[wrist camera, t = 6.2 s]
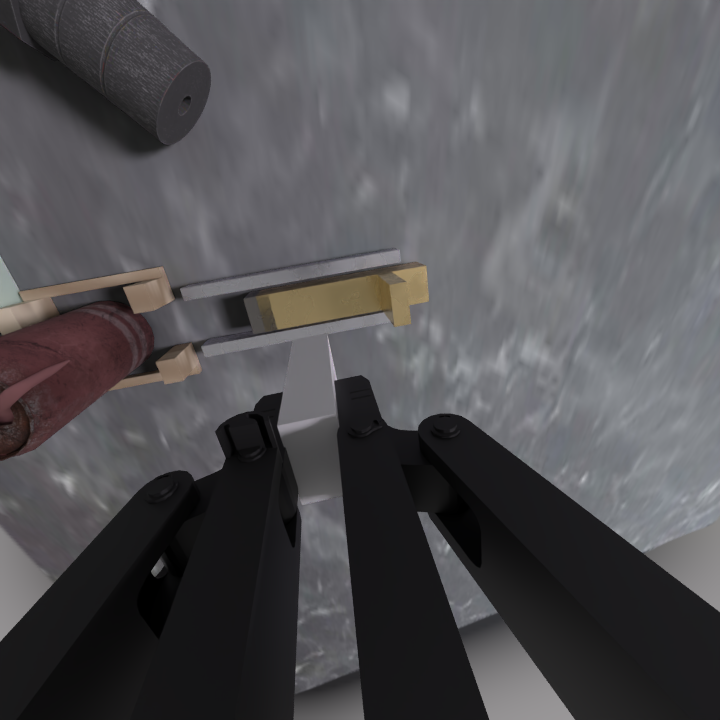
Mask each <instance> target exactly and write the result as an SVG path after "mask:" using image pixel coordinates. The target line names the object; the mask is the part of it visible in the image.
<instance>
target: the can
mask: <svg viewBox="0 0 720 720" xmlns="http://www.w3.org/2000/svg"><path fill="white" fill-rule="evenodd" d="M153 349H154V336H153V332H152V329H151V327H150V325H149V324H148V322H147V321H146V319H145V318H144V317H143V316H142V315H141V314H140V313H137V314H134V312H133V310H132V308H131V307H129V306H127V305H125V304H123V303H118V302H114V301H99V302H95V303H93V304H90V305H87V306H84V307H81V308H79V309H76V310H73V311H70V312H67V313H64V314H62V315H59V316H56V317H53V318H50V319H47V320H45V321H42V322H39V323H36V324H33V325H31V326H28V327H25V328H22V329H19V330H16V331H14V332H11V333H8V334H5V335H2V336H0V461H3V460H5V459H8V458H10V457H14V456H19V455H22V454H24V453H27V452H29V451H32V450H34V449H36V448H37V447H38V446H40V445H41V444H42V443H43V442H45V441H46V440H47V439H48V438H50V437H51V436H52V435H53V434H55V433H56V432H57V431H58V430H60V429H61V428H62V427H64V426H65V425H66V424H67V423H69V422H70V421H71V420H72V419H74V418H75V417H76V416H77V415H79V414H80V413H81V412H82V411H84V410H85V409H86V408H87V407H89V406H90V405H91V404H92V403H94V402H95V401H96V400H97V399H99V398H100V397H101V396H102V395H104V394H105V393H106V392H107V391H109V390H110V389H111V388H112V387H114V386H115V385H116V384H117V383H119V382H120V381H121V380H122V379H124V378H125V377H126V376H127V375H129V374H130V373H131V372H132V371H134V370H135V369H136V368H137V367H139V366H140V365H141V364H142V363H143V362H145V361H146V360H147V359H148V358H149V357H150V355H151V353H152V351H153Z"/></svg>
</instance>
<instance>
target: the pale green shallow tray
mask: <svg viewBox="0 0 720 720" xmlns="http://www.w3.org/2000/svg"><path fill="white" fill-rule="evenodd" d="M19 292H20V290H19V289H18V287H17V285H16V283H15V281H14V280H13V278H12V276H11V274H10V272H9V271H8V269H7V267H6V265H5V263H4V262H3V260H2V258H1V256H0V308H3V307H6V306H10V305H14V304H18V303H21V302H24V301H23V300H22V298H21V296H20V294H19Z"/></svg>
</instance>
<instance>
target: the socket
mask: <svg viewBox="0 0 720 720" xmlns="http://www.w3.org/2000/svg"><path fill="white" fill-rule="evenodd" d="M139 281H141V282H139ZM134 282H138V283H135V284H132V285H129V286H126V287H123V289H124V291H125V293H126V296H127V298H128V300H129V303H130V305H131V307H132V310H133V312H134V314H137V313H143V312H148V311H154V310H156V309H158V308H160V307H162V306H164V305H166V304H167V303H169V302H171V301H173V300H175V297H174V295H173V292H172V289H171V287H170V284H169V281H168V279H167V276H166V274H165V271H164V268H163V266H162V267H156V268H150V269H145V270H139V271H133V272H127V273H122V274H116V275H110V276H105V277H99V278H93V279H87V280H82V281H76V282H70V283H64V284H59V285H53V286H47V287H42V288H36V289H30V290H25V291H20V292H19V294H20V296H21V298H22V300H23V301H24V302H21V303H18V304H14V305H10V306H6V307H3V308H0V332H1V334H2V335H5V334H8V333H11V332H14V331H16V330H19V329H22V328H25V327H28V326H31V325H33V324H36V323H39V322H42V321H45V320H47V319H50V318H53V317H56V316H59V315H60V314H59V312H58V310H57V308H56V306H55V304H54V302H53V301H52V299H51V297H54V296H60V295H65V294H71V293H77V292H83V291H88V290H94V289H100V288H105V287H111V286H117V285H122V284H128V283H134ZM156 365H157V367H158V369H159V370H156V371H150V372H145V373H140V374H135V375H129V376H126V377H125V378H124V379H122V380H121V381H120V382H119V383H117V384H116V385H115V386H114V387H112V388H111V389H110V390H115V389H121V388H126V387H131V386H136V385H142V384H147V383H152V382H157V381H162V380H163V381H164V383H165V384H169V383H174V382H179V381H184V379H185V378H186V377H187V376H189V375H194V374H199V373H200V372H201V371H202V368H201V366H200V363H199V361H198V358H197V355H196V353H195V350H194V347H193V345H192V342H191V343H185V344H180V345H175V346H174V347H173V348H171V349H170V350H169V351H168V352H167V353H166V354H164V355H163V356H162V357H161V358H160V359H159V360H157V361H156ZM110 390H109V391H110Z"/></svg>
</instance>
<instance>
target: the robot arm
mask: <svg viewBox="0 0 720 720" xmlns="http://www.w3.org/2000/svg"><path fill="white" fill-rule="evenodd" d="M215 433H216V435H217V438H218V440H219V442H220V445H221V447H222V450H223V452H224V455H225V457H226V460H225V462H224V465H223V468H222V469H221V470H219V471H217V472H215V473H213V474H211V475H208V476H206V477H204V478H201V479H199V480H196V481H194V479H193V477H192V475H191V474H190V473H188V472H187V471H180V470H179V471H174V472H169V473H166V474H163V475H160V476H158V477H156V478H155V479H154V480H152V481H150V482H149V483H147V484H146V485H145V486H144V487H142V488H141V489H140V490H139V491H138V492H137V493H136V494H135V495H134V496H133V497H132V498H131V500H130V501H129V502H128V503H127V504H126V505H125V506H124V507H123V508H122V509H121V510H120V512H119V513H118V514H117V515H116V516H115V517H114V518H113V519H112V520H111V521H110V522H109V524H108V525H107V526H106V527H105V528H104V529H103V530H102V531H101V532H100V533H99V535H98V536H97V537H96V538H95V539H94V540H93V541H92V542H91V543H90V544H89V545H88V547H87V548H86V549H85V550H84V551H83V552H82V553H81V554H80V555H79V556H78V557H77V559H76V560H75V561H74V562H73V563H72V564H71V565H70V566H69V567H68V568H67V569H66V571H65V572H64V573H63V574H62V575H61V576H60V577H59V578H58V579H57V580H56V582H55V583H54V584H53V585H52V586H51V587H50V588H49V589H48V590H47V591H46V592H45V594H44V595H43V596H42V597H41V598H40V599H39V600H38V601H37V602H36V603H35V604H34V606H33V607H32V608H31V609H30V610H29V611H28V612H27V613H26V614H25V615H24V616H23V618H22V619H21V620H20V621H19V622H18V623H17V624H16V625H15V626H14V627H13V629H12V630H11V631H10V632H9V633H8V634H7V635H6V636H5V637H4V638H3V639H2V641H1V642H0V720H293V716H294V692H295V667H296V643H297V618H298V594H299V569H300V544H301V516H300V512H299V509H298V506H297V501H298V494H299V497H300V500H301V503H302V505H304V504H309V503H313V502H318V501H322V500H327V499H331V498H336V497H340V496H343V504H344V514H345V524H346V535H347V545H348V555H349V565H350V576H351V586H352V596H353V606H354V617H355V627H356V637H357V648H358V658H359V668H360V678H361V689H362V699H363V709H364V719H365V720H489V718H488V715H487V712H486V709H485V706H484V703H483V700H482V697H481V695H480V692H479V689H478V686H477V683H476V680H475V677H474V674H473V671H472V668H471V666H470V663H469V660H468V657H467V654H466V651H465V648H464V645H463V643H462V640H461V637H460V634H459V631H458V628H457V625H456V622H455V619H454V617H453V614H452V611H451V608H450V605H449V602H448V599H447V596H446V593H445V591H444V588H443V585H442V582H441V579H440V576H439V573H438V570H437V568H436V565H435V562H434V559H433V556H432V553H431V550H430V547H429V544H428V542H427V539H426V536H425V533H424V530H423V527H422V524H421V521H420V518H419V516H418V513H417V512H428V515H429V517H430V519H431V520H432V521H433V523H434V524H435V526H436V527H437V528H438V530H439V531H440V533H441V534H442V535H443V537H444V538H445V539H446V541H447V542H448V544H449V545H450V546H451V548H452V549H453V551H454V552H455V553H456V555H457V556H458V558H459V559H460V560H461V562H462V563H463V564H464V566H465V567H466V569H467V570H468V571H469V573H470V574H471V576H472V577H473V578H474V580H475V581H476V583H477V584H478V585H479V587H480V588H481V589H482V591H483V592H484V594H485V595H486V596H487V598H488V599H489V601H490V602H491V603H492V605H493V606H494V608H495V609H496V610H497V612H498V613H499V614H500V616H501V617H502V619H503V620H504V621H505V623H506V624H507V625H508V627H509V628H510V630H511V631H512V632H513V634H514V635H515V637H516V638H517V639H518V641H519V642H520V644H521V645H522V646H523V648H524V649H525V650H526V652H527V653H528V655H529V656H530V658H531V659H532V660H533V662H534V663H535V665H536V666H537V667H538V669H539V670H540V671H541V673H542V674H543V676H544V677H545V678H546V679H547V681H548V683H549V684H550V685H551V687H552V688H553V689H554V691H555V692H556V694H557V695H558V696H559V698H560V699H561V701H562V702H563V703H564V705H565V706H566V708H567V709H568V710H569V712H570V713H571V715H572V716H573V717H574V719H575V720H720V612H719V611H717V610H716V609H715V608H714V607H712V606H711V605H709V604H708V603H707V602H706V601H704V600H703V599H702V598H700V597H699V596H698V595H697V594H695V593H694V592H693V591H691V590H690V589H689V588H687V587H686V586H685V585H683V584H682V583H681V582H680V581H678V580H677V579H676V578H674V577H673V576H672V575H670V574H669V573H668V572H666V571H665V570H664V569H663V568H661V567H660V566H659V565H657V564H656V563H655V562H653V561H652V560H650V559H649V558H648V557H647V556H646V555H644V554H643V553H642V552H640V551H639V550H638V549H636V548H635V547H634V546H632V545H631V544H630V543H629V542H627V541H626V540H625V539H623V538H622V537H621V536H619V535H618V534H617V533H615V532H614V531H613V530H612V529H610V528H609V527H608V526H606V525H605V524H604V523H602V522H601V521H600V520H598V519H597V518H596V517H595V516H593V515H592V514H591V513H589V512H588V511H587V510H585V509H584V508H583V507H581V506H580V505H579V504H578V503H576V502H575V501H574V500H572V499H571V498H570V497H568V496H567V495H566V494H564V493H563V492H562V491H561V490H559V489H558V488H557V487H555V486H554V485H553V484H551V483H550V482H549V481H547V480H546V479H545V478H544V477H542V476H541V475H540V474H538V473H537V472H536V471H534V470H533V469H532V468H530V467H529V466H528V465H527V464H525V463H524V462H523V461H521V460H520V459H519V458H517V457H516V456H515V455H513V454H512V453H511V452H510V451H508V450H507V449H506V448H504V447H503V446H502V445H500V444H499V443H498V442H496V441H495V440H494V439H493V438H491V437H490V436H489V435H487V434H486V433H485V432H483V431H482V430H481V429H479V428H478V427H477V426H476V425H474V424H473V423H472V422H470V421H469V420H467V419H465V418H464V417H462V416H459V415H455V414H437V415H433V416H430V417H428V418H426V419H424V420H423V421H422V422H421V423H420V425H419V427H418V431H407V430H398V429H394V428H392V427H390V426H388V425H387V424H386V422H385V421H384V420H383V419H382V417H381V414H380V411H379V408H378V406H377V403H376V400H375V397H374V394H373V391H372V388H371V385H370V382H369V380H368V379H366V378H365V377H363V376H362V375H360V376H355V377H350V378H345V379H340V380H337V378H336V373H335V368H334V363H333V359H332V354H331V349H330V345H329V340H328V335H327V333H325V334H320V335H315V336H310V337H304V338H299V339H294V340H293V341H292V347H291V352H290V358H289V363H288V369H287V374H286V380H285V385H284V391H283V392H281V393H276V394H271V395H266V396H263V397H262V398H261V399H260V400H259V402H258V403H257V404H256V405H255V408H254V411H251V412H245V413H242V414H238V415H236V416H234V417H232V418H230V419H228V420H226V421H225V422H224V423H222V424H221V425H220V426H219V427H218V429H217V430H216V431H215ZM159 559H161V561H162V562H163V564H164V567H163V568H162V570H161V571H160V572H159V574H158V575H157V576H156V577H154V576H153V575H152V573H151V570H152V569H153V567H154V566H155V564H156V563H157V561H158V560H159Z"/></svg>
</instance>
